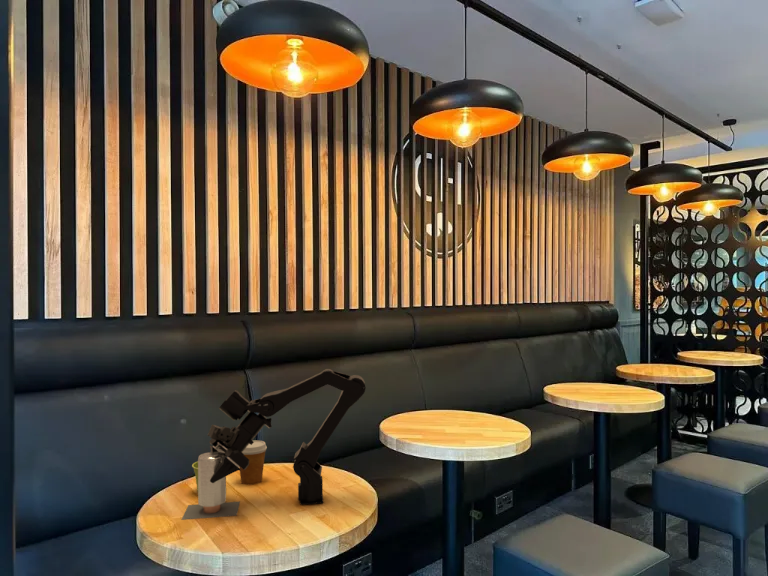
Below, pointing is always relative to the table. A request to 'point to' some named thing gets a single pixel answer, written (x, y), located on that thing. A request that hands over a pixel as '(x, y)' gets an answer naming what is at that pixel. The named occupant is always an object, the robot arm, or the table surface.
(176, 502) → the table surface
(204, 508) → the pink squat rounded piece
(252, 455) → the disposable coffee cup
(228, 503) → the charcoal mat
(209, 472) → the brushed metal canister
